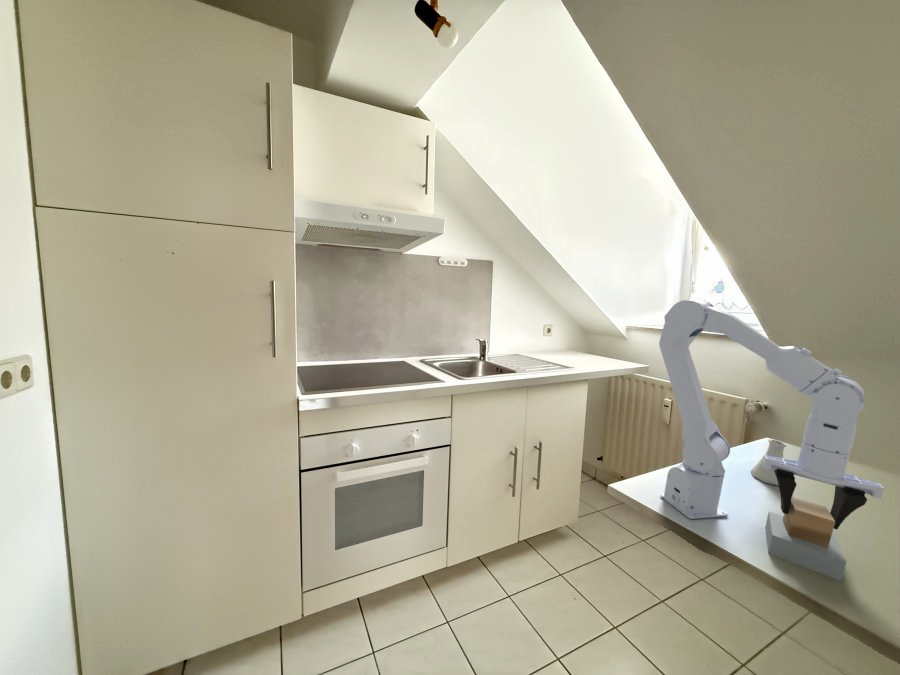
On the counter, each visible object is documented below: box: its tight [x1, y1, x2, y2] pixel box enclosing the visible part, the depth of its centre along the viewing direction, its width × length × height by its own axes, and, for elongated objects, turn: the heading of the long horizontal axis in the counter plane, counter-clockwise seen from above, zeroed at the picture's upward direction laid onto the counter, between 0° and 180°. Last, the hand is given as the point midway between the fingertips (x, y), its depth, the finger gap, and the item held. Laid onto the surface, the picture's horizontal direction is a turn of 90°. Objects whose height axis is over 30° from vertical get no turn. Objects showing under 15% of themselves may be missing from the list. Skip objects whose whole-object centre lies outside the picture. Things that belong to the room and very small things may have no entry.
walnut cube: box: [782, 496, 835, 548], centre depth 64 cm, size 5×5×5 cm
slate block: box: [764, 510, 847, 582], centre depth 64 cm, size 9×9×4 cm
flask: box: [750, 439, 787, 487], centre depth 89 cm, size 7×7×10 cm
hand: (807, 518), depth 63 cm, fingers open, 6 cm apart
